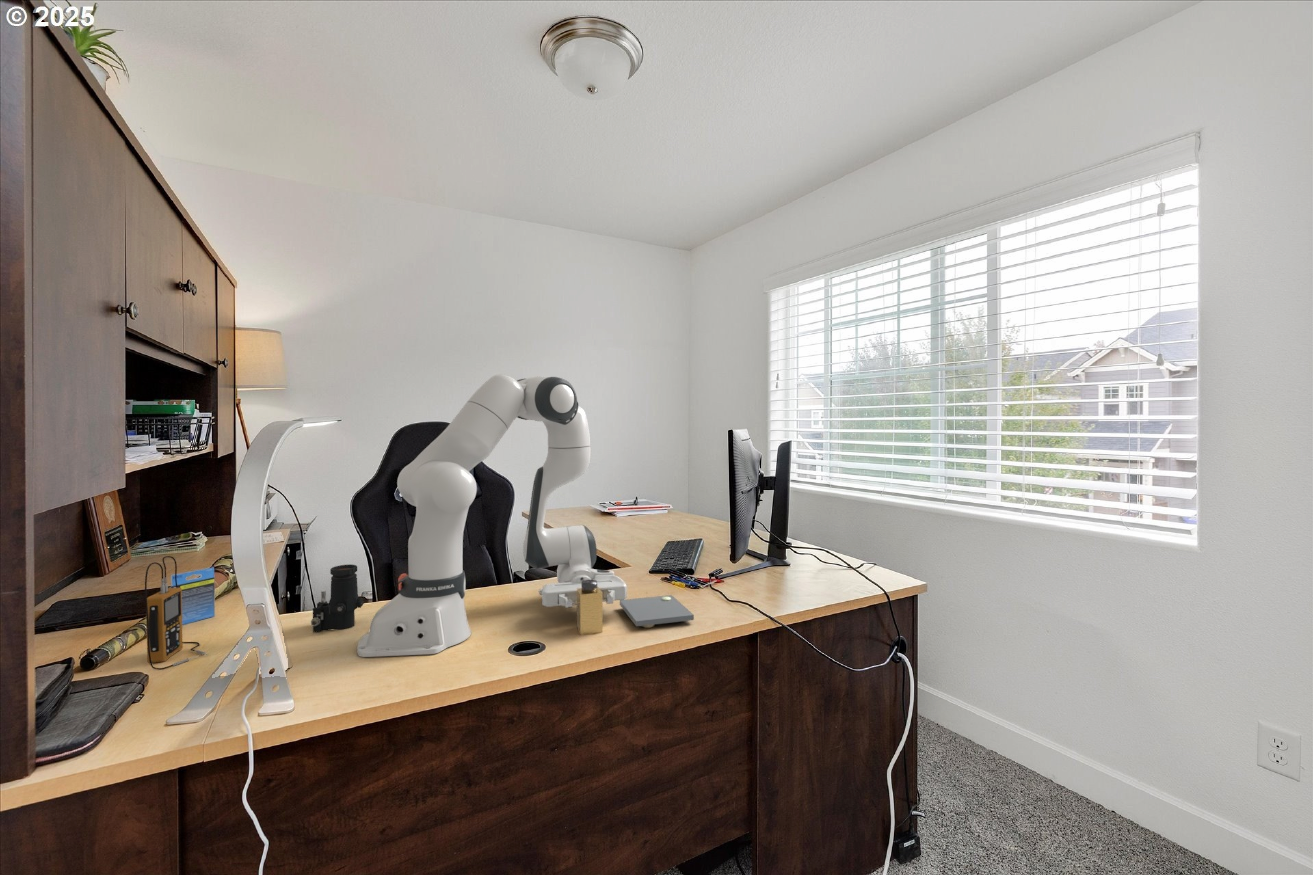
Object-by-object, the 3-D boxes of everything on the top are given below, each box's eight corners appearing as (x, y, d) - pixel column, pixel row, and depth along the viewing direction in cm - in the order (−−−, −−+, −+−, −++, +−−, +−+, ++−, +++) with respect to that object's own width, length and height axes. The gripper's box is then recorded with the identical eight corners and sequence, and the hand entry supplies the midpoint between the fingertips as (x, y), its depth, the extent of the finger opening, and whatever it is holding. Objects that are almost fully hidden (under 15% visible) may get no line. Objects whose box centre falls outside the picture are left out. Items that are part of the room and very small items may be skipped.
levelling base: (636, 630, 127) (636, 619, 127) (619, 608, 142) (619, 598, 142) (693, 624, 131) (693, 613, 131) (671, 603, 146) (671, 593, 146)
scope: (319, 564, 132) (366, 561, 134) (320, 622, 132) (367, 618, 135) (308, 573, 124) (358, 570, 126) (309, 635, 124) (359, 630, 127)
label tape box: (206, 614, 138) (206, 564, 138) (216, 616, 136) (215, 566, 136) (163, 625, 130) (161, 573, 130) (172, 628, 128) (170, 575, 128)
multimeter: (198, 666, 108) (196, 563, 108) (135, 672, 105) (132, 567, 105) (231, 638, 122) (230, 547, 122) (177, 643, 120) (175, 550, 119)
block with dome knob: (580, 634, 124) (580, 585, 124) (576, 626, 129) (576, 579, 129) (602, 632, 126) (602, 583, 126) (598, 624, 131) (598, 578, 130)
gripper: (537, 576, 137) (543, 592, 123) (618, 570, 143) (632, 584, 130) (537, 601, 137) (543, 620, 124) (618, 594, 143) (632, 611, 130)
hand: (590, 602), depth 127 cm, fingers open, 8 cm apart
